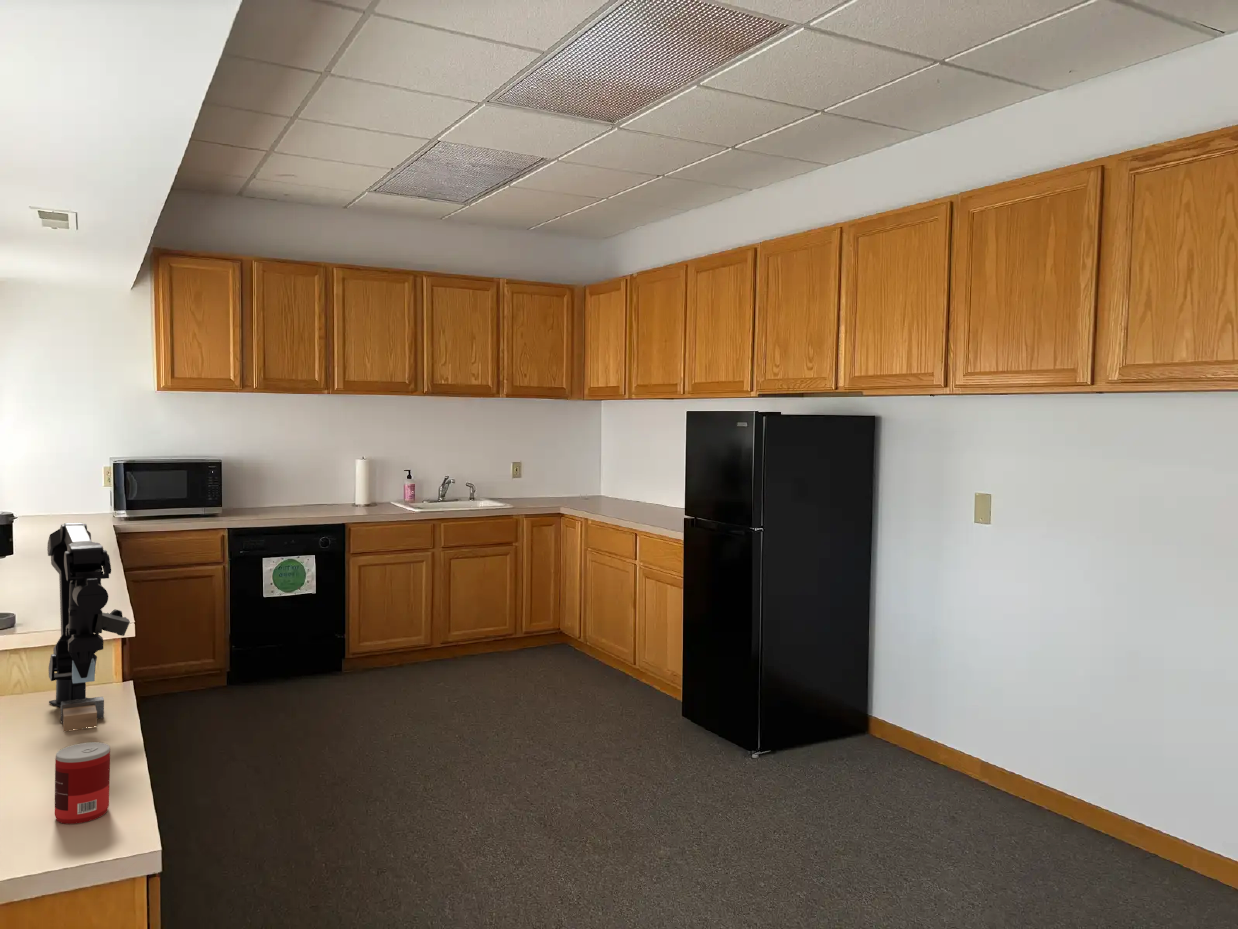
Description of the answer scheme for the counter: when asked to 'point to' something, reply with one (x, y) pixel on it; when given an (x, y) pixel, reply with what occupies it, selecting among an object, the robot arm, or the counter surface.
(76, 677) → the block
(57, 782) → the canned food
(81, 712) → the brown square block
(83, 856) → the counter surface
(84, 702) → the block
